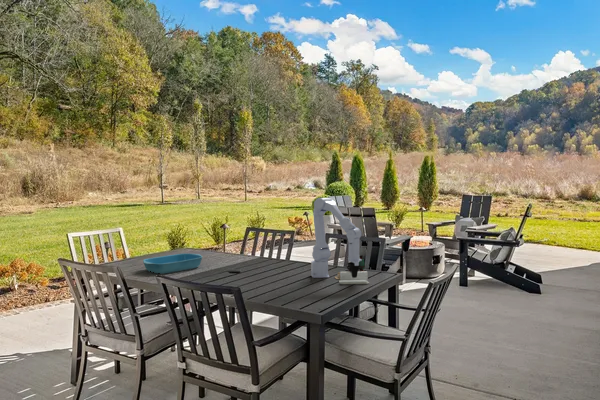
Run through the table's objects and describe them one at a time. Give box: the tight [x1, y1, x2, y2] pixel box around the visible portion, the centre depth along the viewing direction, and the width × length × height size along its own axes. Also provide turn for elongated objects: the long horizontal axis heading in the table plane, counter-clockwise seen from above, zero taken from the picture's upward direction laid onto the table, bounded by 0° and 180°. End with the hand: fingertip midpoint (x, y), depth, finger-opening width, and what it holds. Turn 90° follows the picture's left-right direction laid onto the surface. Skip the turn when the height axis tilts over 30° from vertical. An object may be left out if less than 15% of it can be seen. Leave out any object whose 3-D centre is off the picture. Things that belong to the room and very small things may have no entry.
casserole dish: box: [142, 252, 203, 275], centre depth 261 cm, size 37×22×7 cm, turn 139°
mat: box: [338, 280, 370, 285], centre depth 227 cm, size 15×6×1 cm, turn 95°
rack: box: [334, 271, 341, 280], centre depth 237 cm, size 16×5×3 cm, turn 95°
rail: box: [339, 270, 369, 281], centre depth 227 cm, size 14×3×4 cm, turn 95°
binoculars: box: [346, 254, 366, 271], centre depth 250 cm, size 9×11×10 cm
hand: (353, 276), depth 227 cm, fingers closed on rail, 3 cm apart
